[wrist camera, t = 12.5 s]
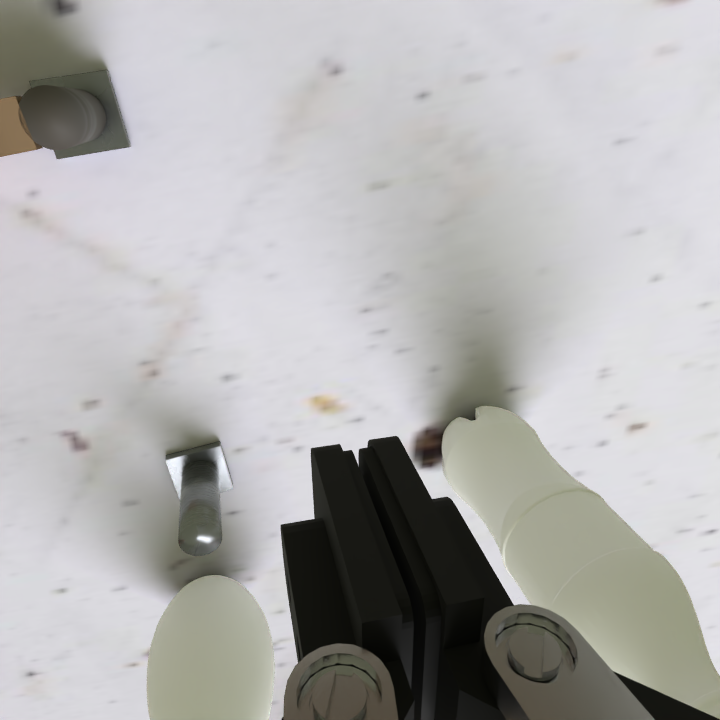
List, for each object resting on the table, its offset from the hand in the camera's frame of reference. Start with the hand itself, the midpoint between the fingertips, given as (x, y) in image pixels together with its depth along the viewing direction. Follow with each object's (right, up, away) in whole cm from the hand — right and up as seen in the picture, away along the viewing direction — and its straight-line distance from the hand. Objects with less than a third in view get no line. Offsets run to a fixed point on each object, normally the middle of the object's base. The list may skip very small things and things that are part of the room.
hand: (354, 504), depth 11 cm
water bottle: (+9, -3, +33) cm, 34 cm away
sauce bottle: (-11, -14, +32) cm, 37 cm away
